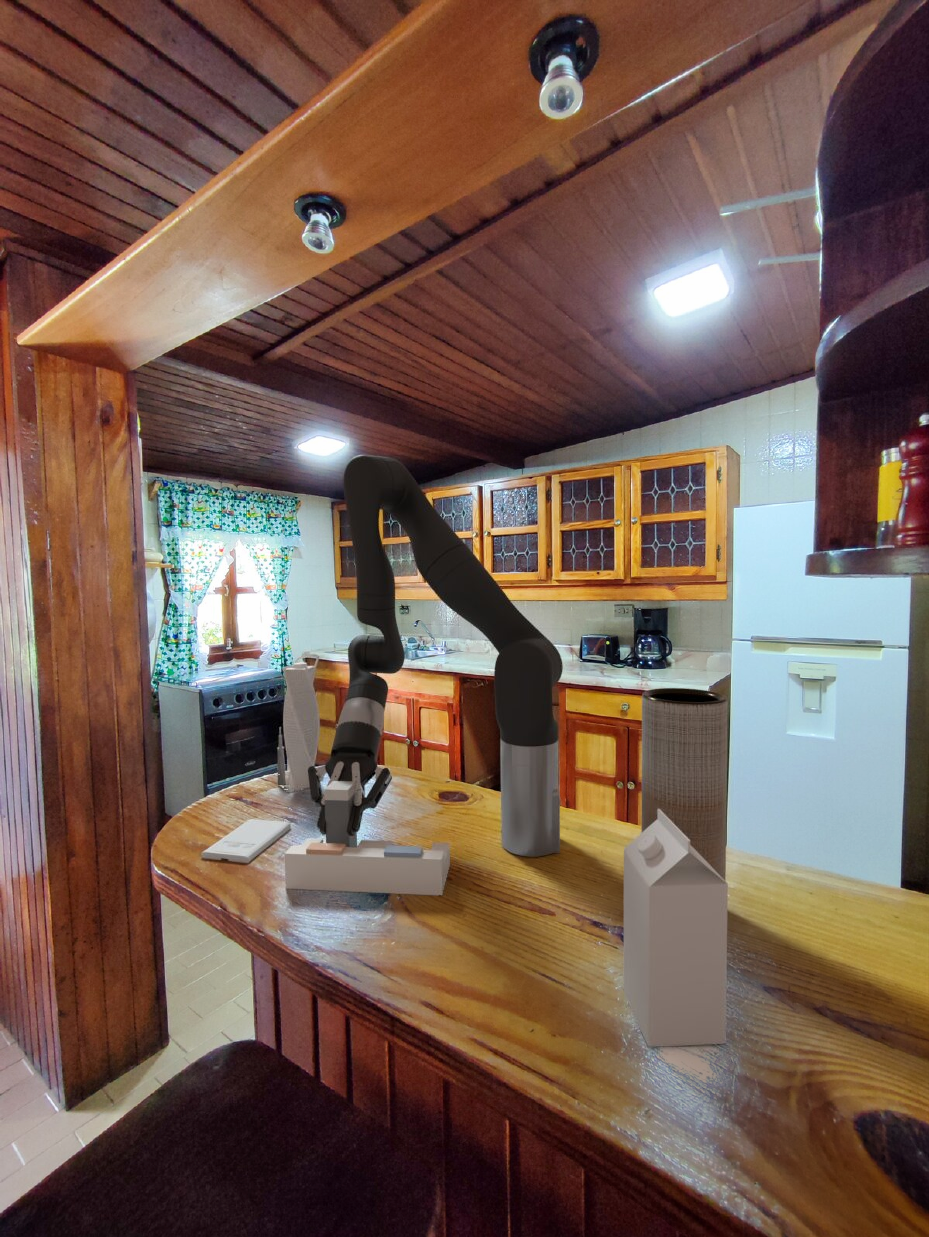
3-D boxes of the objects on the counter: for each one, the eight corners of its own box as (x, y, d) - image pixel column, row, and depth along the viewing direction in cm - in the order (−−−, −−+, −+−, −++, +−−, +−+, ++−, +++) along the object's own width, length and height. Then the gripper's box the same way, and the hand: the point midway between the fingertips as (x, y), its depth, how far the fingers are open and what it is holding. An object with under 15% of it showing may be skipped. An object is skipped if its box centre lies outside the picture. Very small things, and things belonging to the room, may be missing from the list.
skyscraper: (313, 776, 124) (309, 652, 122) (329, 786, 118) (325, 655, 116) (275, 785, 118) (271, 655, 117) (290, 796, 112) (286, 659, 111)
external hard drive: (291, 831, 96) (247, 866, 84) (249, 827, 98) (201, 861, 86) (290, 822, 96) (247, 855, 84) (249, 818, 98) (200, 850, 86)
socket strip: (449, 865, 82) (449, 829, 82) (442, 895, 74) (441, 855, 74) (307, 860, 85) (306, 824, 84) (285, 888, 77) (284, 849, 76)
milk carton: (691, 988, 57) (693, 807, 56) (726, 1046, 50) (729, 839, 49) (622, 991, 56) (623, 809, 55) (648, 1049, 49) (649, 841, 48)
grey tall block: (357, 851, 86) (355, 781, 85) (349, 862, 82) (347, 790, 81) (334, 850, 86) (332, 780, 85) (326, 861, 82) (324, 789, 82)
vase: (625, 899, 73) (625, 691, 72) (684, 883, 77) (685, 685, 75) (679, 943, 64) (680, 705, 62) (743, 923, 67) (746, 698, 66)
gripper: (312, 719, 91) (282, 822, 80) (396, 719, 90) (378, 825, 78) (324, 741, 97) (298, 841, 85) (404, 742, 95) (388, 844, 84)
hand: (337, 832), depth 82 cm, fingers closed on grey tall block, 3 cm apart
